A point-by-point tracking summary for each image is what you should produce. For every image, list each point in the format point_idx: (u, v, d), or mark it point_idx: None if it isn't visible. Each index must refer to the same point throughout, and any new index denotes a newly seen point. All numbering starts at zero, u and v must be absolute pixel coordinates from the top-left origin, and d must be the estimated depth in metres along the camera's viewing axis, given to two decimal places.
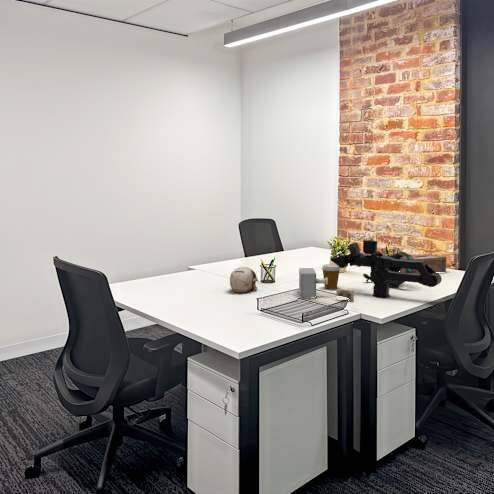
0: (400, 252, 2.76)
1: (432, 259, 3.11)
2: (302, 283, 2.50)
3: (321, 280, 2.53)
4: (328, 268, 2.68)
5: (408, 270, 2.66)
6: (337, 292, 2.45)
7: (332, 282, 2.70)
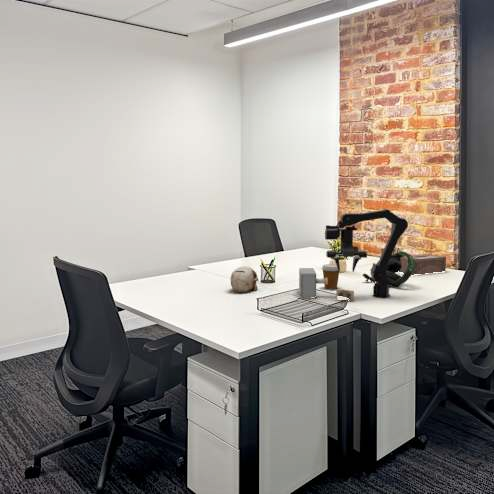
0: (400, 252, 2.77)
1: (432, 259, 3.12)
2: (302, 283, 2.50)
3: (321, 280, 2.53)
4: (328, 268, 2.68)
5: (409, 270, 2.67)
6: (337, 292, 2.45)
7: (332, 282, 2.70)
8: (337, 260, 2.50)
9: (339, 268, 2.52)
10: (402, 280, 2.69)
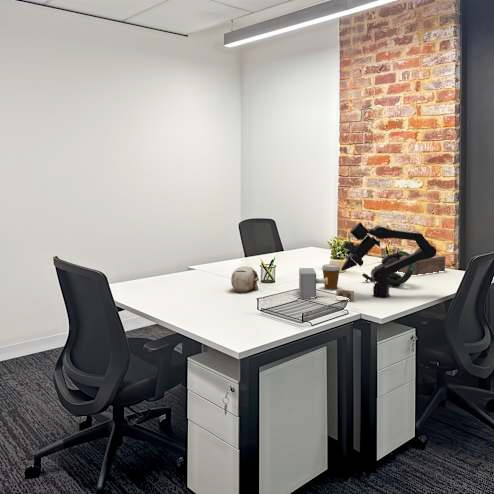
0: None
1: (433, 259, 3.12)
2: (302, 283, 2.50)
3: (321, 280, 2.53)
4: (328, 268, 2.68)
5: (410, 269, 2.68)
6: (337, 292, 2.45)
7: (332, 282, 2.70)
8: None
9: (342, 266, 2.53)
10: (403, 280, 2.70)
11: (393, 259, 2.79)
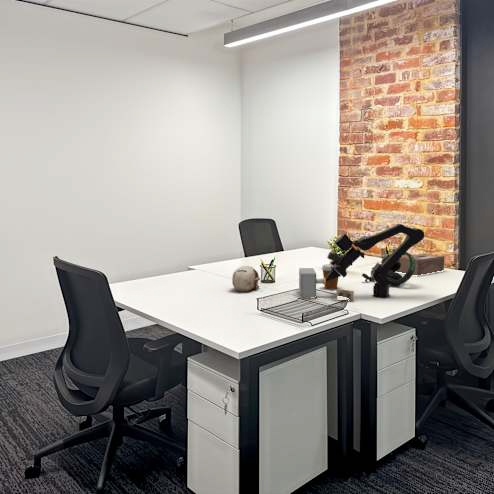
0: None
1: (433, 259, 3.13)
2: (302, 283, 2.50)
3: (319, 280, 2.53)
4: (328, 268, 2.68)
5: (411, 269, 2.69)
6: (337, 292, 2.45)
7: (332, 282, 2.70)
8: (331, 268, 2.54)
9: (327, 276, 2.54)
10: (404, 279, 2.71)
11: None
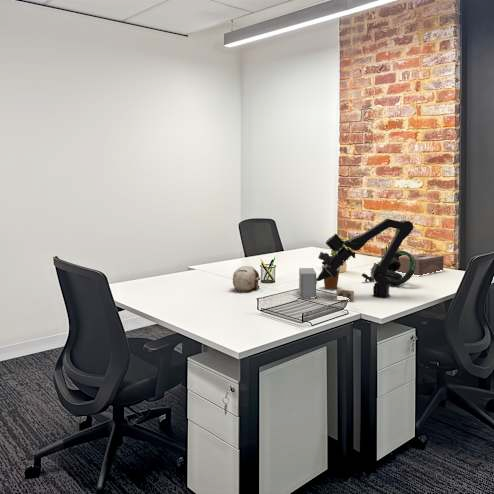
0: (400, 251, 2.80)
1: (433, 259, 3.13)
2: (302, 283, 2.50)
3: None
4: None
5: (412, 269, 2.70)
6: (337, 292, 2.45)
7: (332, 282, 2.70)
8: (322, 268, 2.55)
9: (318, 276, 2.54)
10: (405, 279, 2.71)
11: (393, 259, 2.80)
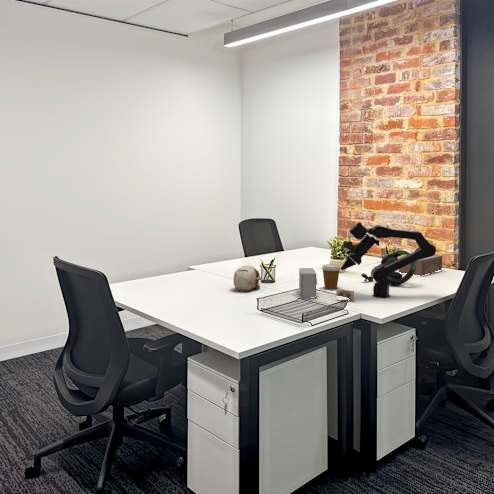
0: (399, 251, 2.81)
1: (434, 258, 3.14)
2: (302, 283, 2.50)
3: None
4: (328, 268, 2.68)
5: (413, 268, 2.72)
6: (337, 292, 2.45)
7: (332, 282, 2.70)
8: (346, 257, 2.54)
9: (342, 265, 2.53)
10: (406, 278, 2.73)
11: (393, 258, 2.82)
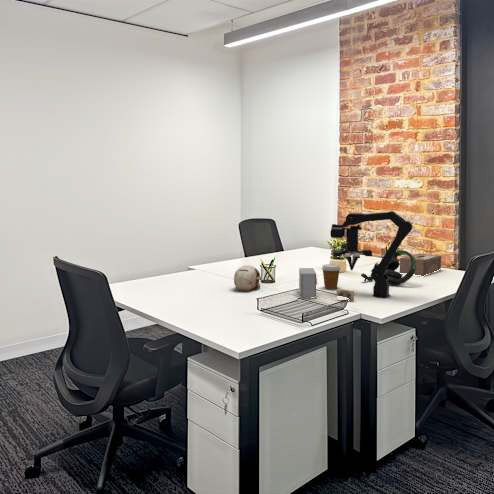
0: None
1: (434, 258, 3.14)
2: (302, 283, 2.50)
3: None
4: (328, 268, 2.68)
5: (413, 268, 2.73)
6: (337, 292, 2.45)
7: (332, 282, 2.70)
8: None
9: None
10: (406, 278, 2.74)
11: (392, 258, 2.82)
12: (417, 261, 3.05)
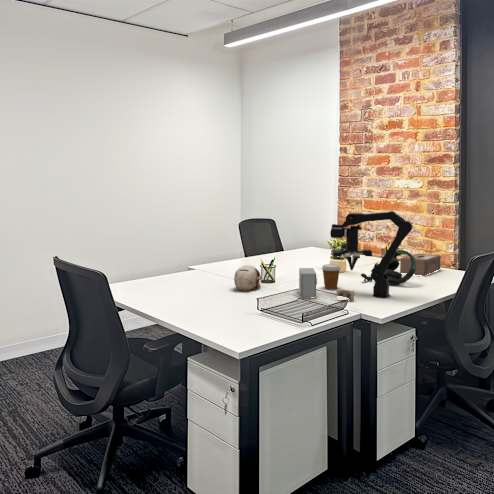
0: (399, 250, 2.83)
1: (434, 258, 3.14)
2: (302, 283, 2.50)
3: None
4: (328, 268, 2.68)
5: (413, 267, 2.73)
6: (337, 292, 2.45)
7: (332, 282, 2.70)
8: None
9: None
10: (406, 278, 2.74)
11: (392, 258, 2.83)
12: (418, 261, 3.05)
